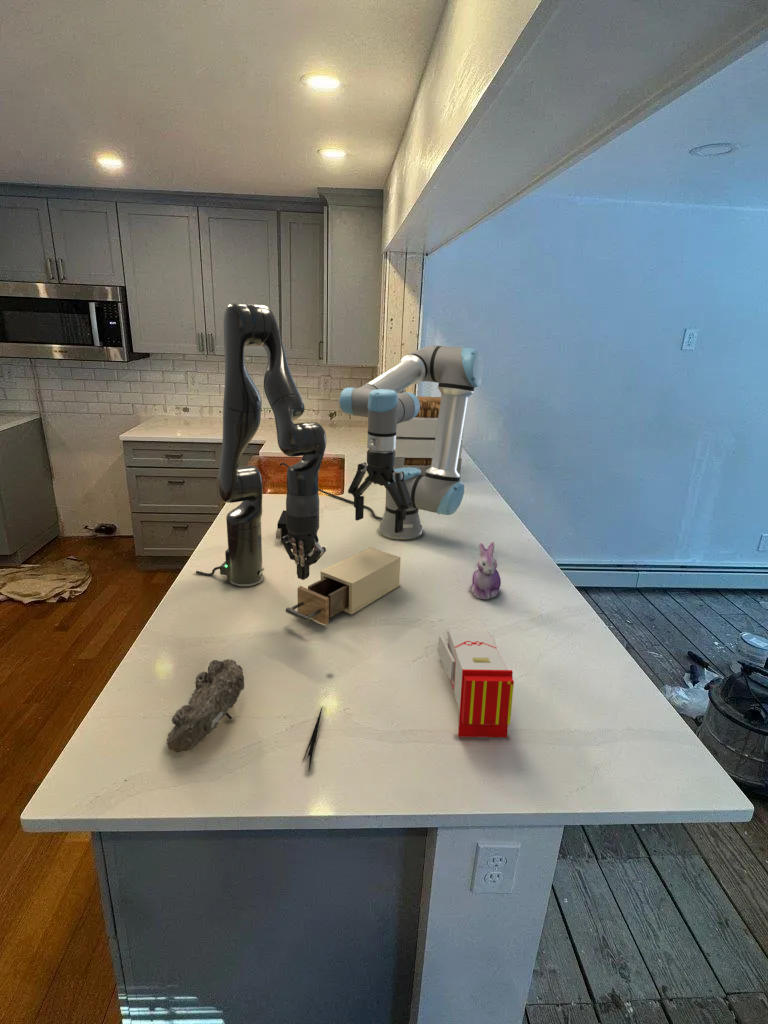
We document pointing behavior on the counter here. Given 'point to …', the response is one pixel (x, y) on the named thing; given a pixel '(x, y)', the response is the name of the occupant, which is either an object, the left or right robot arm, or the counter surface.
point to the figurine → (486, 574)
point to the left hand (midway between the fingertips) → (303, 578)
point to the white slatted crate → (419, 436)
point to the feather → (313, 740)
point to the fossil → (206, 705)
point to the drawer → (321, 600)
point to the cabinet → (366, 576)
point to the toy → (478, 682)
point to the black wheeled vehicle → (281, 526)
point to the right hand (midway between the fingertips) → (378, 525)
